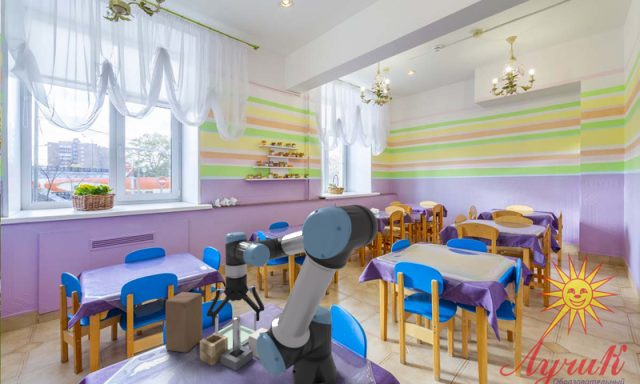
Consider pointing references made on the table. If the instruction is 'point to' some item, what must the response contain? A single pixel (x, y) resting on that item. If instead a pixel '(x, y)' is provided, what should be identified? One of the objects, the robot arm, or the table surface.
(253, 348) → the white cube
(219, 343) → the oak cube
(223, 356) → the pin stand
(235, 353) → the steel pin
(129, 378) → the table surface
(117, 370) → the table surface
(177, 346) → the wooden block
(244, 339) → the mint tray
